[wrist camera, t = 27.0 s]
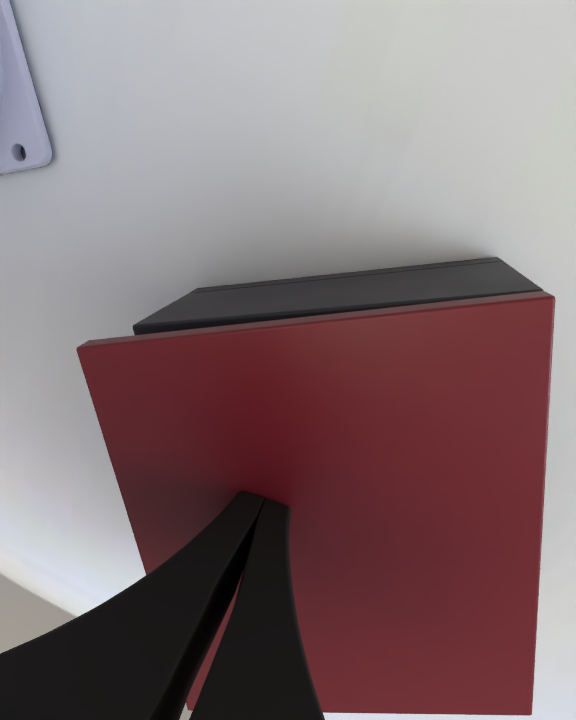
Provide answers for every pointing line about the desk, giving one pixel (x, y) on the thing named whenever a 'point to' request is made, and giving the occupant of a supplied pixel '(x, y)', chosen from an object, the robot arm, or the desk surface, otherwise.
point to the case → (337, 294)
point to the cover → (359, 482)
